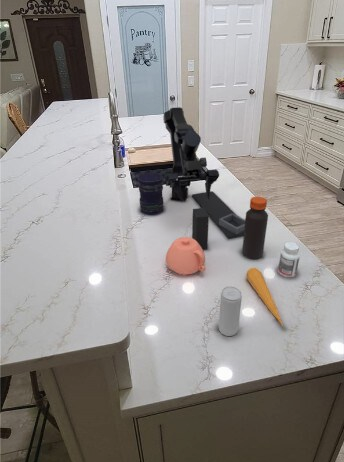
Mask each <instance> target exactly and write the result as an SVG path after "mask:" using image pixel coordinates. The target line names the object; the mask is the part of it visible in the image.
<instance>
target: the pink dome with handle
mask: <svg viewBox="0 0 344 462" xmlns="http://www.w3.org/2000/svg"><path fill="white" fill-rule="evenodd" d="M165 263H166V265H167V267H168V268H169V269H170V270H171V271H173V272H174V273H177V274H180V275H184V276H187V275H192V274H195V273H197V272H199V271H200V272H205V270H206V265H205V263H206V254H205V251H204V250H203V249H202V248H201V246H200V245H199V244H198V242H197V241H196V240H194V239H192V237H189V236H182V237H178V238H176V239H174V241H173V242H172V243H171V245H170V246H169V247H168V249H167V252H166V254H165Z"/></svg>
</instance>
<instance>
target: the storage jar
mask: <svg viewBox="0 0 344 462" xmlns="http://www.w3.org/2000/svg"><path fill="white" fill-rule="evenodd" d="M137 178H138V179H137V180H138V183H137V184H138V191H139V207H140V208H139V209H140V213H141V214H143V215H145V216H157V215H160V214H162V213H163V212H164V206H165V205H164V196H163V190H164V182H163V175H162V174H161V173H159V172H155V171H150V172H149V171H148V172H144V173H140V174H139V175H138V177H137Z"/></svg>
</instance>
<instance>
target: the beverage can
mask: <svg viewBox="0 0 344 462" xmlns="http://www.w3.org/2000/svg"><path fill="white" fill-rule="evenodd" d="M242 297H243V295H242V291H241V290H240V289H239V288H238V287H236V286H233V285H229V286H225V287H223V288H222V290H221V292H220V299H219V301H220V302H219V314H218V315H219V316H218V317H219V318H218V330H219V332H220V333H221V334H222V335H224V336H226V337H233V336H235V335H236V334H237V333H238V332H239V328H240V327H239V326H240V317H241V307H242V300H243V299H242Z"/></svg>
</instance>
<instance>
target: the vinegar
mask: <svg viewBox="0 0 344 462" xmlns="http://www.w3.org/2000/svg"><path fill="white" fill-rule="evenodd" d="M267 203H268V200H267V198H265V197H263V196H253V197H251V198H250V201H249V209H248V210H247V211H246V212H245V219H244V220H245V229H244V236H243V239H242V251H241V253H242V255H243V256H244V257H246V258H248V259H251V260H257V259H260V258H262V257H263V255H264V250H265V242H266V235H267V227H268V221H269V220H268V219H269V213H268V212H267V211H266V210H267Z"/></svg>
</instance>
